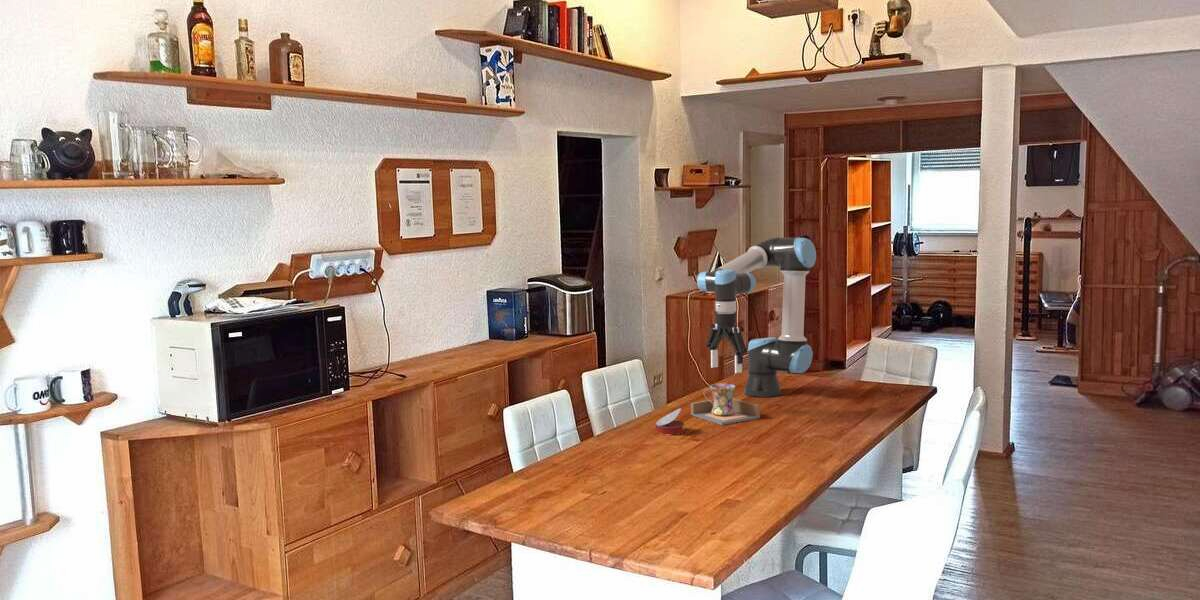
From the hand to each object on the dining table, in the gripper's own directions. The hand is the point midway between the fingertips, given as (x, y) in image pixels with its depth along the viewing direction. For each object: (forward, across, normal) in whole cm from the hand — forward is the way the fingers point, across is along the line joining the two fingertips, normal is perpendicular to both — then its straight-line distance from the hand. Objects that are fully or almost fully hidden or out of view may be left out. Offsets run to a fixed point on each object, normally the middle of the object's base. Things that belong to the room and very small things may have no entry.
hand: (726, 369), depth 335 cm
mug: (+17, -3, -1) cm, 18 cm away
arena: (+18, -2, +1) cm, 18 cm away
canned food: (+18, +3, -28) cm, 34 cm away
